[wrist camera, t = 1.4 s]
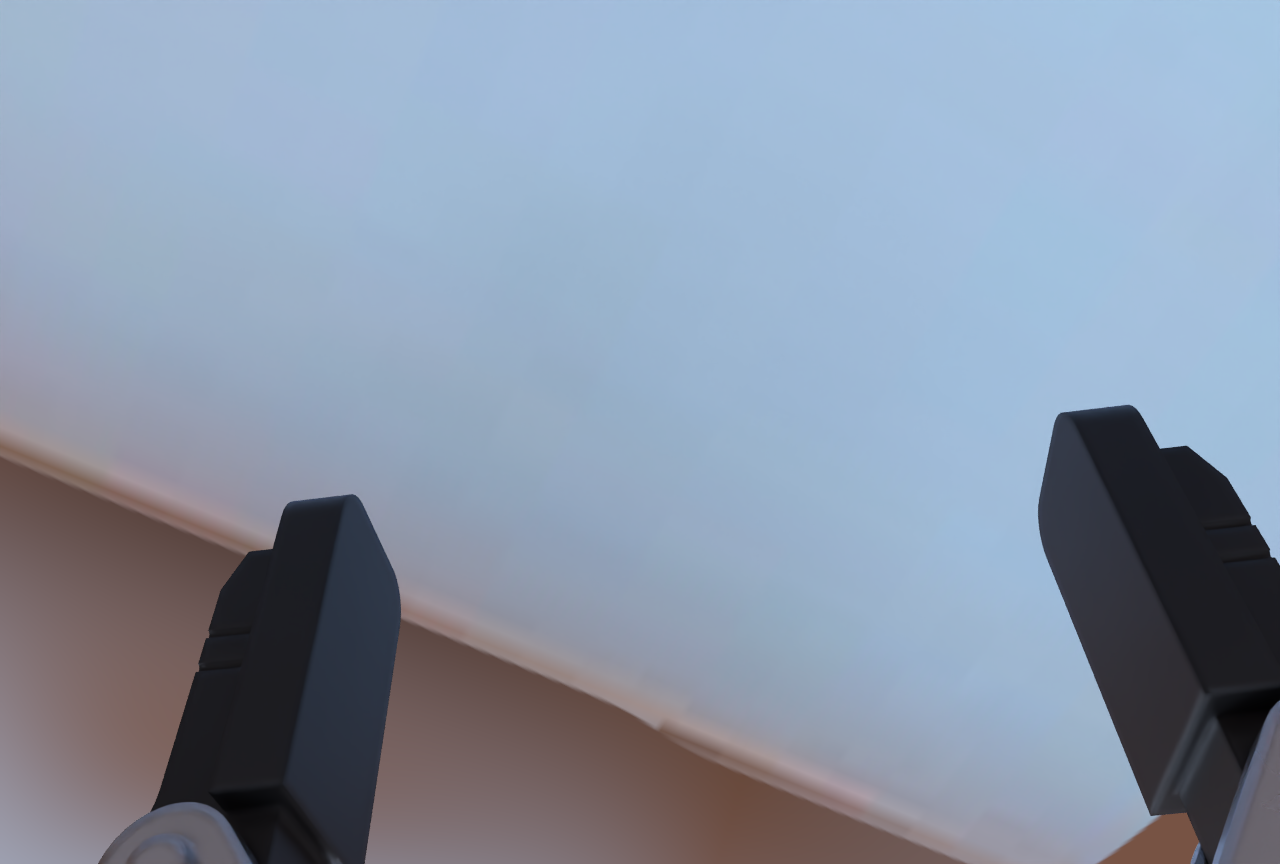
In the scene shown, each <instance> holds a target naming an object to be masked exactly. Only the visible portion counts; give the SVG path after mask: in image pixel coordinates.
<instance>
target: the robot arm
mask: <svg viewBox="0 0 1280 864" xmlns="http://www.w3.org/2000/svg"><path fill="white" fill-rule="evenodd" d="M1250 518H1251V517H1250V515H1249V514H1248V512H1247V510H1246V509H1245V507H1244V505H1243V504H1242V502H1241V500H1240V499H1239V497H1238V495H1237V494H1236V492H1235V490H1234V489H1233V487H1232V485H1231V484H1230V482H1229V480H1228V479H1227V477H1225V476H1224V475H1223V474H1222V473H1220V472H1219V471H1218V470H1217V469H1215V468H1214V467H1213V466H1212V465H1210V464H1209V463H1208V462H1207V461H1205V460H1204V459H1203V458H1202V457H1200V456H1199V455H1198V454H1197V453H1195V452H1194V451H1193V450H1192V449H1190V448H1189V447H1188V446H1180V447H1172V448H1163V449H1160V448H1159V446H1158V445H1157V443H1156V441H1155V439H1154V437H1153V436H1152V434H1151V432H1150V430H1149V428H1148V427H1147V425H1146V423H1145V421H1144V419H1143V418H1142V416H1141V414H1140V413H1139V412H1138V410H1137V409H1136V408H1134V407H1133V406H1131V405H1123V406H1114V407H1106V408H1097V409H1089V410H1080V411H1072V412H1063V413H1060V414H1059V415H1058V416H1057V418H1056V420H1055V424H1054V428H1053V433H1052V438H1051V443H1050V448H1049V453H1048V458H1047V463H1046V468H1045V473H1044V478H1043V483H1042V488H1041V493H1040V498H1039V504H1038V520H1039V530H1040V536H1041V540H1042V545H1043V548H1044V552H1045V554H1046V557H1047V560H1048V562H1049V565H1050V567H1051V570H1052V572H1053V575H1054V577H1055V580H1056V582H1057V585H1058V587H1059V590H1060V592H1061V595H1062V597H1063V599H1064V602H1065V604H1066V607H1067V609H1068V612H1069V614H1070V617H1071V619H1072V622H1073V624H1074V627H1075V629H1076V632H1077V634H1078V637H1079V639H1080V642H1081V644H1082V647H1083V649H1084V652H1085V654H1086V657H1087V659H1088V662H1089V664H1090V666H1091V669H1092V671H1093V674H1094V676H1095V679H1096V681H1097V684H1098V686H1099V689H1100V691H1101V694H1102V696H1103V699H1104V701H1105V704H1106V706H1107V709H1108V711H1109V714H1110V716H1111V719H1112V721H1113V724H1114V726H1115V729H1116V731H1117V733H1118V736H1119V738H1120V741H1121V743H1122V746H1123V748H1124V751H1125V753H1126V756H1127V758H1128V761H1129V763H1130V766H1131V768H1132V771H1133V773H1134V776H1135V778H1136V781H1137V783H1138V786H1139V788H1140V791H1141V793H1142V796H1143V798H1144V800H1145V803H1146V805H1147V808H1148V810H1149V813H1150V815H1151V816H1154V815H1165V814H1175V813H1186V812H1187V814H1188V817H1189V819H1190V821H1191V824H1192V826H1193V828H1194V830H1195V833H1196V835H1197V837H1198V840H1199V843H1198V846H1197V848H1196V850H1195V852H1194V855H1193V858H1192V861H1191V864H1280V565H1279V563H1278V562H1277V560H1276V558H1272V557H1271V556H1270V548H1269V547H1268V545H1267V543H1266V542H1265V540H1264V538H1263V537H1262V535H1261V534H1260V532H1259V530H1258V529H1257V527H1256V525H1252V524H1251V521H1250ZM400 620H401V604H400V593H399V587H398V583H397V579H396V576H395V573H394V570H393V568H392V566H391V564H390V562H389V560H388V558H387V555H386V553H385V551H384V549H383V547H382V545H381V543H380V540H379V538H378V536H377V534H376V532H375V530H374V528H373V525H372V523H371V521H370V519H369V517H368V515H367V513H366V511H365V508H364V506H363V504H362V502H361V501H360V499H359V498H358V497H357V496H356V495H353V494H351V495H343V496H334V497H326V498H318V499H309V500H301V501H293V502H290V503H288V504H287V506H286V507H285V509H284V511H283V514H282V516H281V520H280V524H279V528H278V531H277V535H276V539H275V542H274V546H273V549H269V550H260V551H252V552H249V553H248V554H247V555H246V557H245V558H244V559H243V561H242V562H241V564H240V565H239V566H238V567H237V569H236V570H235V571H234V573H233V574H232V576H231V577H230V578H229V580H228V581H227V582H226V584H225V585H224V586H223V588H222V589H221V591H220V594H219V598H218V601H217V604H216V608H215V611H214V614H213V617H212V620H211V624H210V627H209V634H210V635H209V638H206V640H205V643H204V647H203V650H202V653H201V657H200V660H199V663H198V664H199V672H196V673H195V676H194V680H193V683H192V686H191V689H190V693H189V696H188V699H187V702H186V706H185V709H184V712H183V716H182V719H181V722H180V725H179V729H178V732H177V735H176V739H175V742H174V745H173V748H172V752H171V755H170V758H169V762H168V765H167V768H166V771H165V775H164V779H163V781H162V785H161V788H160V791H159V794H158V796H157V799H156V802H155V804H154V806H153V808H152V810H151V812H150V813H148V814H146V815H144V816H143V817H141V818H140V819H138V820H136V821H135V822H134V823H133V824H131V825H130V826H129V827H127V828H126V829H125V830H124V831H123V832H122V833H121V834H120V835H119V836H118V837H117V838H116V839H115V840H114V841H113V843H112V844H111V845H110V846H109V848H108V849H107V850H106V852H105V853H104V855H103V856H102V858H101V860H100V861H99V863H98V864H364V863H365V856H366V850H367V843H368V836H369V829H370V823H371V816H372V809H373V803H374V796H375V789H376V782H377V776H378V769H379V762H380V755H381V749H382V743H383V735H384V729H385V722H386V716H387V708H388V701H389V696H390V689H391V682H392V675H393V669H394V661H395V654H396V648H397V642H398V635H399V629H400Z"/></svg>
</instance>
